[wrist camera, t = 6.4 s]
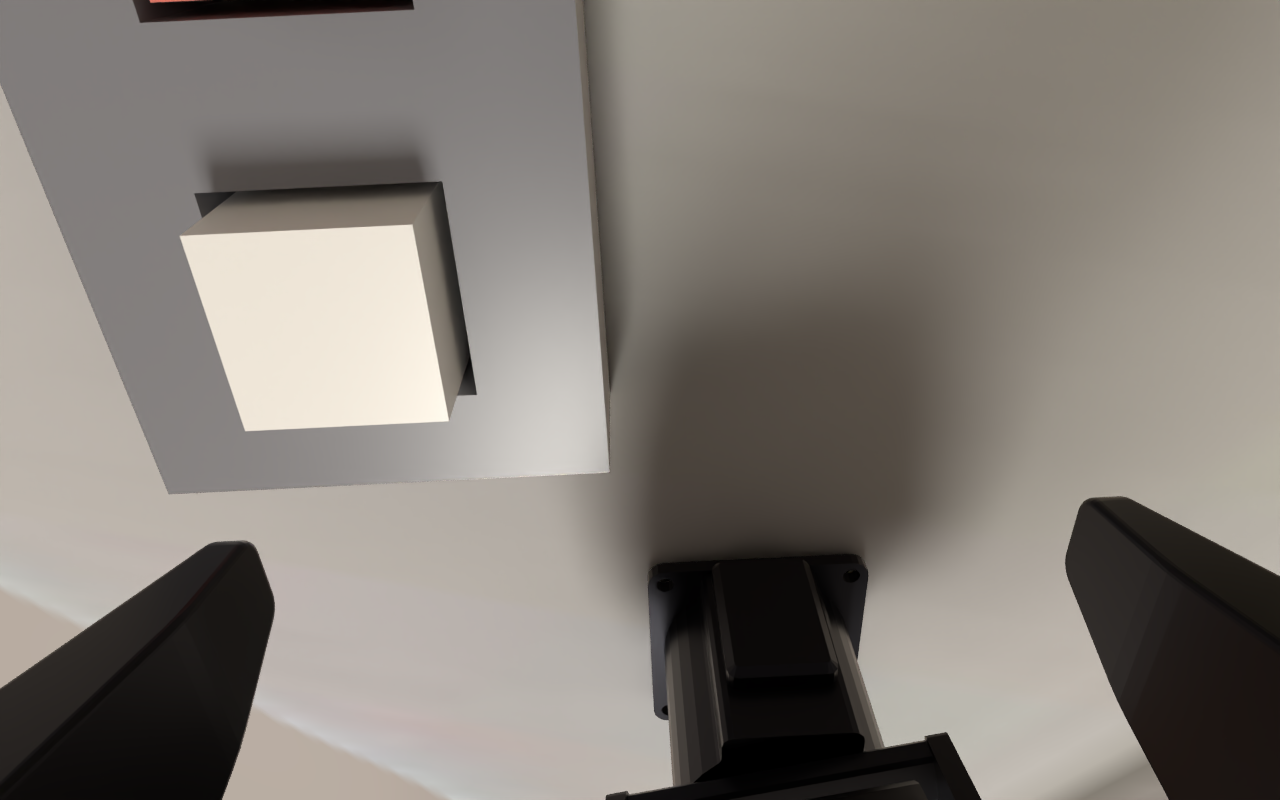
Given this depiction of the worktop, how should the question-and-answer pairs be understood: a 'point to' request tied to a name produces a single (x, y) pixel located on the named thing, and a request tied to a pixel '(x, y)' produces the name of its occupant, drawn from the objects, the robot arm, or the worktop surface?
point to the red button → (168, 0)
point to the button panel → (326, 157)
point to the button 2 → (333, 304)
